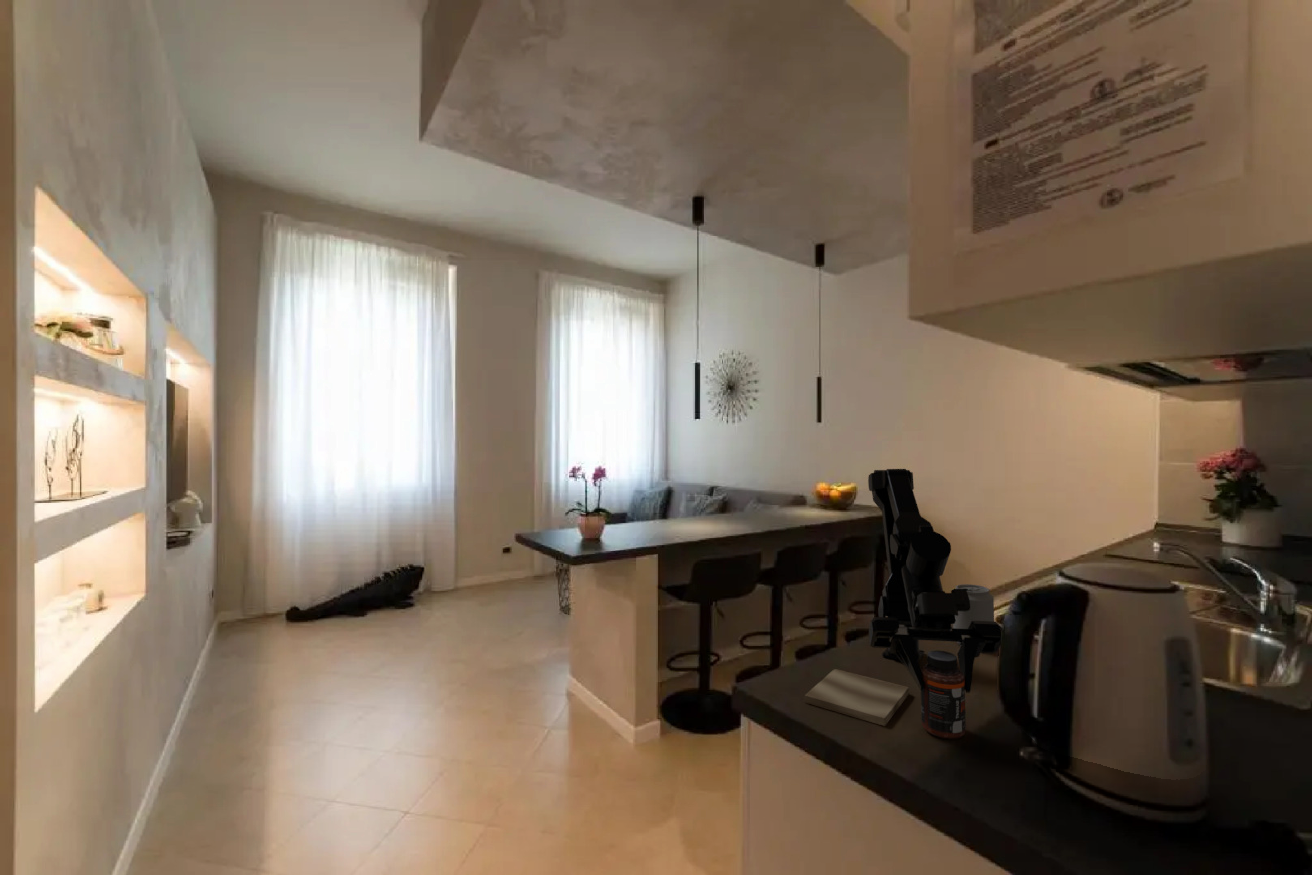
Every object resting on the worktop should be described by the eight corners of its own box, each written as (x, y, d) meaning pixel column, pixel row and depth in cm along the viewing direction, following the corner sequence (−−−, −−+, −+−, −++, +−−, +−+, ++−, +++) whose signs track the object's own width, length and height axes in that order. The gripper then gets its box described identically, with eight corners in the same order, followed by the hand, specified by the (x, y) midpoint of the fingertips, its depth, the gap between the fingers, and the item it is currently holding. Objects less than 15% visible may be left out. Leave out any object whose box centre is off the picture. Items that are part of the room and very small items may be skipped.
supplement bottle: (971, 742, 81) (970, 664, 81) (927, 739, 82) (925, 662, 82) (958, 721, 87) (957, 648, 87) (916, 718, 88) (915, 646, 88)
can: (947, 637, 122) (946, 582, 122) (985, 638, 121) (983, 582, 121) (961, 651, 114) (960, 592, 114) (1001, 652, 113) (1000, 592, 113)
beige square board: (834, 675, 105) (834, 668, 105) (908, 694, 97) (908, 687, 97) (804, 702, 95) (804, 695, 95) (884, 726, 87) (884, 718, 87)
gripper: (869, 566, 90) (884, 664, 80) (999, 569, 86) (1032, 672, 76) (863, 600, 98) (875, 693, 87) (982, 604, 94) (1009, 702, 84)
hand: (945, 690), depth 83 cm, fingers closed on supplement bottle, 6 cm apart
